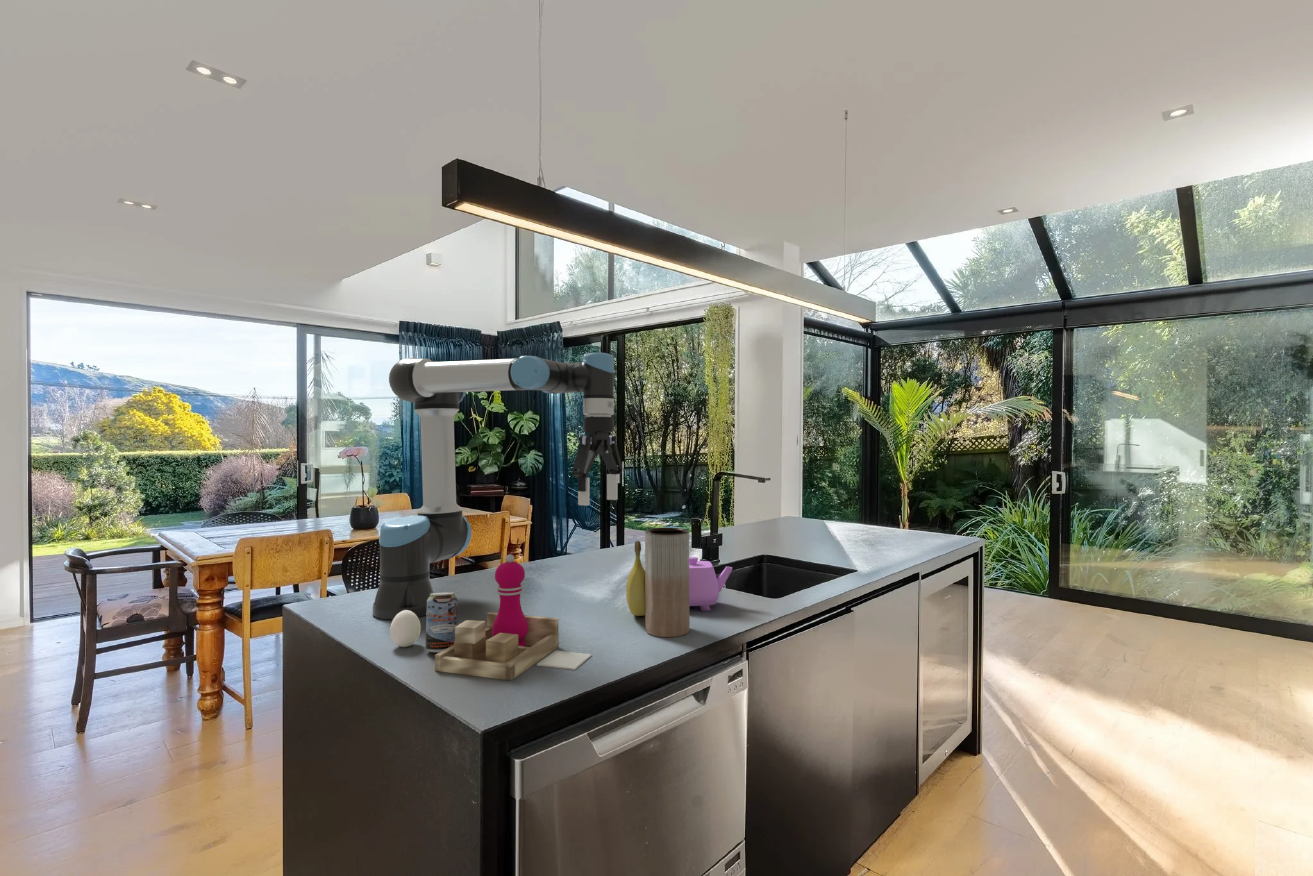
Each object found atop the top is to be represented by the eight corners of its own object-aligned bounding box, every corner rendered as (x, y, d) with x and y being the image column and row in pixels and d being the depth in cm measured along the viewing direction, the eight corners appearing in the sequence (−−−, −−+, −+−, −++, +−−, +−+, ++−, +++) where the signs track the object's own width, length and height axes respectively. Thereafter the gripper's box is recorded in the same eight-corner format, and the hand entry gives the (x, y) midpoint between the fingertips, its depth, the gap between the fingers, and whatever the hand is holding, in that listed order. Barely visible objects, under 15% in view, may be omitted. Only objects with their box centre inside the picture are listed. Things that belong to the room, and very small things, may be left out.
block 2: (454, 668, 121) (453, 642, 121) (469, 659, 126) (469, 634, 126) (472, 670, 120) (472, 644, 120) (486, 661, 125) (486, 636, 125)
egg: (387, 644, 135) (387, 609, 135) (417, 639, 138) (417, 605, 138) (392, 653, 130) (392, 616, 130) (423, 647, 133) (423, 611, 133)
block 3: (486, 672, 119) (485, 640, 119) (500, 663, 124) (500, 632, 124) (504, 674, 118) (504, 642, 118) (518, 665, 123) (518, 634, 123)
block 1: (455, 642, 121) (455, 627, 121) (466, 635, 125) (466, 620, 125) (474, 643, 120) (474, 628, 120) (485, 636, 125) (485, 621, 125)
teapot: (655, 613, 158) (655, 562, 158) (655, 600, 170) (654, 552, 170) (735, 612, 158) (735, 561, 158) (729, 599, 170) (729, 552, 170)
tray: (434, 670, 120) (434, 639, 120) (490, 639, 138) (490, 612, 138) (511, 680, 115) (511, 647, 115) (558, 646, 133) (558, 618, 133)
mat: (536, 665, 122) (536, 664, 122) (555, 651, 130) (555, 650, 130) (574, 670, 120) (574, 668, 120) (591, 655, 128) (591, 654, 128)
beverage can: (424, 658, 127) (424, 598, 127) (426, 646, 134) (426, 589, 134) (457, 654, 129) (456, 595, 128) (458, 643, 136) (457, 587, 136)
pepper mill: (532, 646, 134) (532, 551, 133) (522, 658, 126) (521, 558, 126) (499, 645, 134) (498, 551, 134) (486, 657, 127) (486, 557, 127)
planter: (672, 640, 137) (672, 535, 136) (636, 632, 143) (635, 531, 142) (698, 629, 145) (697, 529, 144) (662, 621, 151) (662, 526, 150)
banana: (631, 602, 168) (631, 527, 167) (653, 602, 167) (653, 527, 167) (624, 629, 145) (624, 541, 145) (650, 629, 145) (649, 541, 145)
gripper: (584, 414, 143) (584, 508, 143) (635, 417, 166) (635, 498, 166) (556, 415, 147) (556, 506, 147) (610, 417, 169) (610, 497, 169)
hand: (598, 502), depth 156 cm, fingers open, 13 cm apart
